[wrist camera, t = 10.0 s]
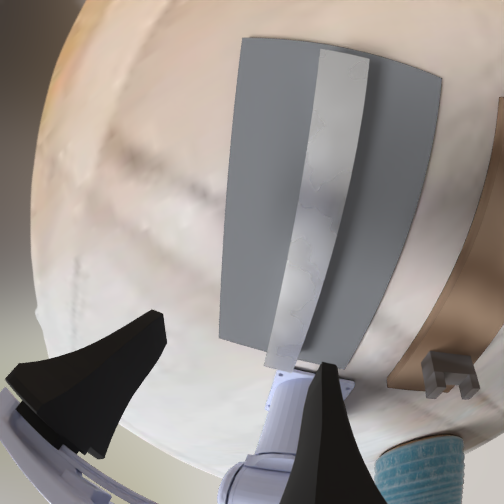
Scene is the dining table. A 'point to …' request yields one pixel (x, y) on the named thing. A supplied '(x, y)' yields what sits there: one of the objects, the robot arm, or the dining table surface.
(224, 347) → the dining table surface
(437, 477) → the vase
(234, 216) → the mat
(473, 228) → the rack
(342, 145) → the rail
